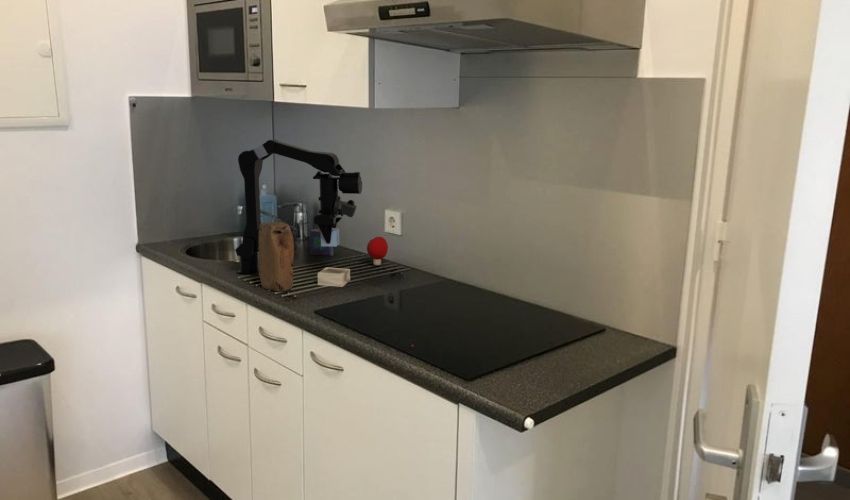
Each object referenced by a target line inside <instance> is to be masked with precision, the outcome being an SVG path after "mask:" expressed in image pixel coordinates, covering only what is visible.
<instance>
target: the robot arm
mask: <svg viewBox="0 0 850 500" xmlns="http://www.w3.org/2000/svg"><path fill="white" fill-rule="evenodd" d="M273 154H274V155H278V156H283V157H285V158H288V159H293V160H295V161H299V162H302V163H305V164H307V165H309V166H311V167H312V168H314V169H316V170H318V171H317V172H316V173H315V175H313V177H312V179H313V180H319V196H318V201H319V208H320V209H319V210H318V213H317V214H316V215H314V217H313V224H315V225H317V226H318V229H320V231H321V233H322V234H323V237H324V239H325V241H326V243H330V242H331V235H332V228H337V226H338V223H339V222H341V220H342V219H343V216H347V217H348V218H353V216H354V215H355V213H356V210H357V205H355V200H353V199H349V200H348V201H347V202H346V201H344V200H343V201H342V200H341V196H340V195H339V191H340V192H341V193H342V194H348V195H349V194H350V195H353V194H354V195H360V194H362V192H363V191H362V190H363V180H362V177H361V172H360V171H355V172H346V171H345V169H344V168H343V166H342V165H341V163H340V160H339V157H338V156H337V154H335V153H333V152H326V151H316V150H315V151H314V150H309V149H307V148H303V147H299V146H296V145H293V144H289V143H286V142H282V141H279V140H277V139H269V140H266V141H265V142H264V143H263V144H260V145H258V146H257V147H255V148H252V149H249V150H245V151H244V150H243V151H241V152H240V154H239V155H238V158H237V161H238V167H239V171H240V173H241V175H242V177H243V182H244V183H243V185H244V200H245V201H244V203H245V221H246V223H245V226H244V229H243V232H242V241H241V243H240V244H239V245H238V246H237V247H236V248H235V250H234V251H235V254H236V256H237V257H239V265H240V268H239V269H238V270H237V271H236V274H241V275H242V274H244V275H257V274H259V256H258V252H259V248H258V246H259V226H260V224H261V223H262V220H261V217H262V216H261V201H260V200H261V197H260V175H261V173H262V170H263V164H264V161H265V160H266V159H267V158H270V157H271V156H272V155H273ZM322 172H323V173H322ZM339 216H341V217H339Z"/></svg>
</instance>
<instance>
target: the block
mask: <svg viewBox="0 0 850 500" xmlns="http://www.w3.org/2000/svg"><path fill="white" fill-rule="evenodd" d="M292 232H293V231H292V230H291V226H290V225H289V224H288V223H286V222H285V223H284V222H283V221H282V222H281V221H273V222H270V221H269V222H268V221H265V222H261V224H260V226H259V246H258V248H259V252H257V253H258V268H259V272H258V275H259V280H260V284H261V287H262V288H264V289H265V290H269V291H274V292H285V291H289V290H291V289H293V285H294V269H293V265H294V260H295V259H294V258H295V244H294V235H293V233H292Z"/></svg>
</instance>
